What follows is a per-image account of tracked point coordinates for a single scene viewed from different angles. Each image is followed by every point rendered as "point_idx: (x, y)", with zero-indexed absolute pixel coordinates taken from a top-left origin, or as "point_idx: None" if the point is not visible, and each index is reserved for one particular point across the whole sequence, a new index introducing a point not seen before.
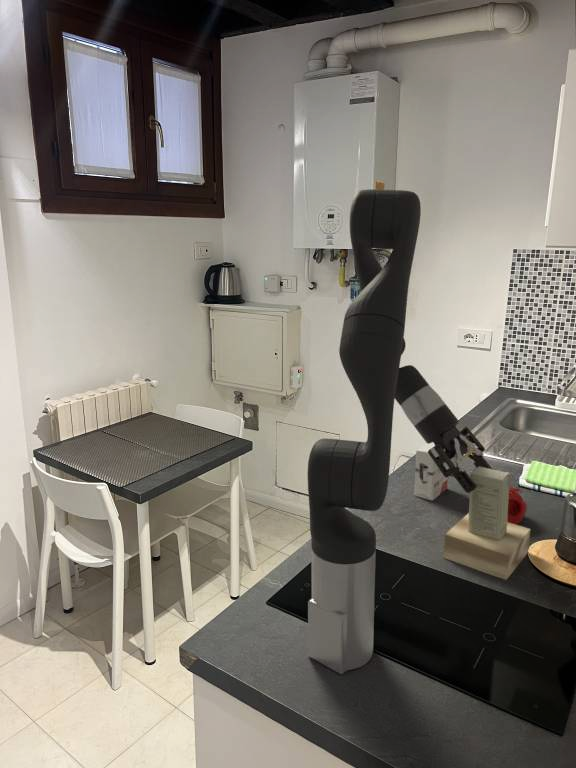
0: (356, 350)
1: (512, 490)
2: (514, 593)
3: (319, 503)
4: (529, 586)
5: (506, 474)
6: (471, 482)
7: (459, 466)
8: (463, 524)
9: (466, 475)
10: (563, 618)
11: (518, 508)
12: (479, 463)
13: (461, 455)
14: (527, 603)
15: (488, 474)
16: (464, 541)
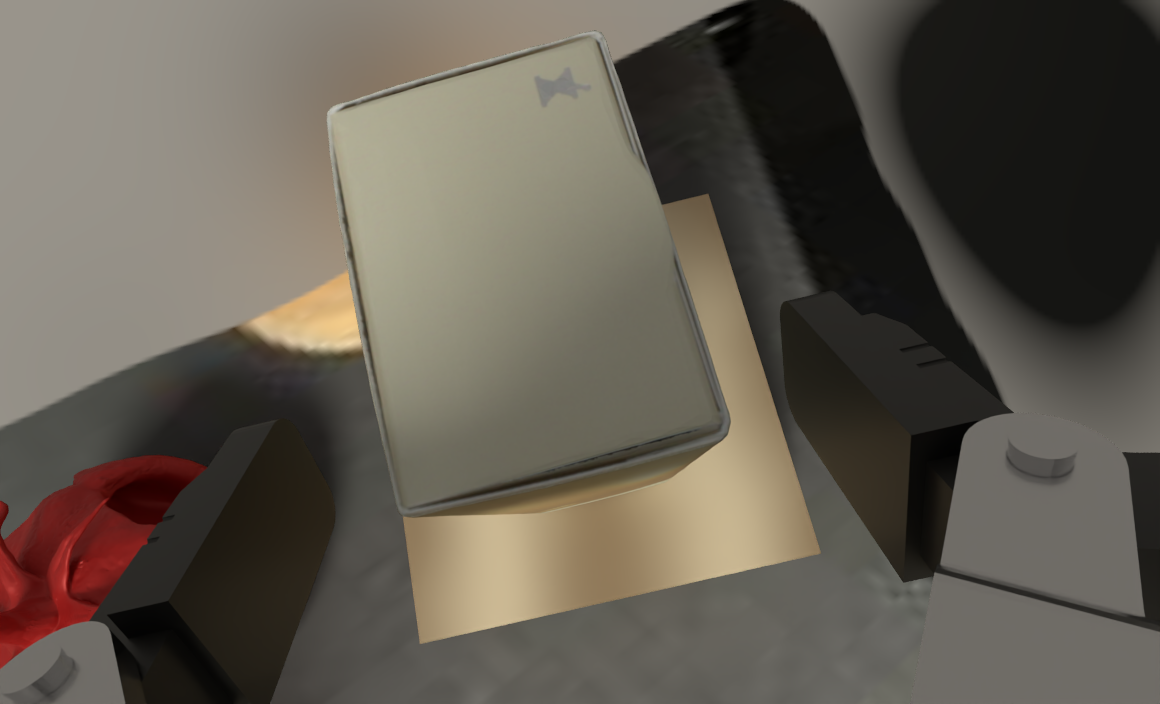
0: None
1: (7, 575)
2: (747, 186)
3: None
4: (656, 179)
5: (411, 95)
6: (860, 320)
7: (1082, 483)
8: (617, 556)
9: (921, 376)
10: (733, 20)
11: (127, 504)
12: (242, 616)
13: (932, 648)
14: (762, 126)
15: (584, 228)
16: (779, 425)
